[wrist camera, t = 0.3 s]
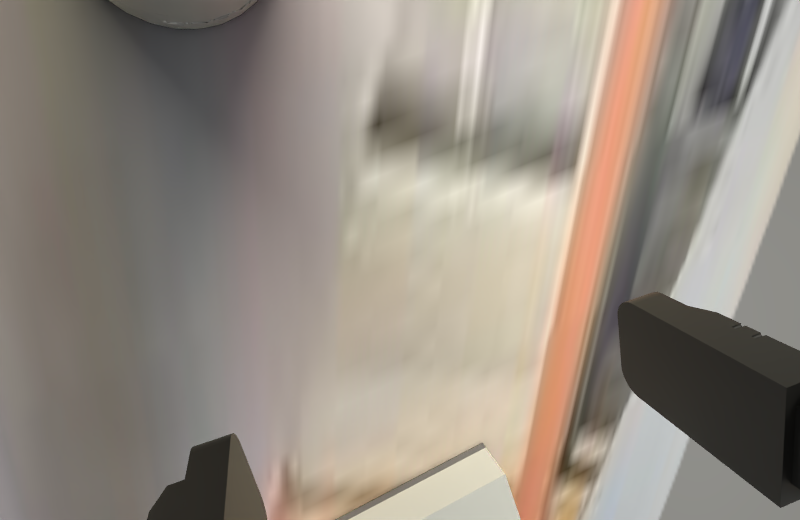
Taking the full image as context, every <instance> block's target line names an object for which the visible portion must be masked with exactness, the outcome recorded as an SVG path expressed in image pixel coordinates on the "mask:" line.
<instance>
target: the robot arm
mask: <svg viewBox="0 0 800 520" xmlns="http://www.w3.org/2000/svg"><path fill="white" fill-rule="evenodd" d="M109 1H110V2H112V3H113V4H114V5H116V6H117V7H119V8H120V9H122V10H123V11H125V12H126V13H128V14H131V15H133V16H135V17H138V18H140V19H142V20H145V21H147V22H149V23H152V24H156V25H161V26H165V27H170V28H174V29H201V28H206V27H211V26H216V25H220V24H223V23H225V22H227V21H229V20H231V19H233V18H235V17H237V16H239V15H241V14H242V13H243V12H245V11H246V10H247V9H248V8H250V7H251V6H252V5H253V4H254V3H256V2H257V1H258V0H109ZM618 326H619V339H620V352H621V365H622V371H623V374H624V377H625V380H626V382H627V383H628V385H629V387H630V388H631V390H632V391H633V392H634V393H635V394H636V395H637V396H638V397H639V398H640V399H642V400H643V401H644V402H646V403H647V404H648V405H649V406H651V407H652V408H653V409H655V410H656V411H657V412H658V413H660V414H661V415H662V416H663V417H665V418H666V419H667V420H669V421H670V422H671V423H672V424H674V425H675V426H676V427H678V428H679V429H680V430H681V431H683V432H684V433H685V434H687V435H688V436H689V437H690V438H692V439H693V440H694V441H695V442H697V443H698V444H699V445H701V446H702V447H703V448H704V449H706V450H707V451H708V452H710V453H711V454H712V455H713V456H715V457H716V458H717V459H719V460H720V461H721V462H722V463H724V464H725V465H726V466H728V467H729V468H730V469H731V470H733V471H734V472H735V473H736V474H738V475H739V476H740V477H742V478H743V479H744V480H745V481H747V482H748V483H749V484H751V485H752V486H753V487H754V488H756V489H757V490H758V491H760V492H761V493H762V494H763V495H765V496H766V497H767V498H768V499H770V500H771V501H772V502H774V503H775V504H776V505H778V506H779V507H780V508H781V507H784V506H786V505H788V504H790V503H793V502H795V501H797V500H799V499H800V351H799V350H797V349H795V348H792V347H790V346H788V345H786V344H784V343H782V342H779V341H777V340H775V339H773V338H771V337H769V336H767V335H765V336H762V335H761V333H760V332H758V331H756V330H754V329H751V328H749V327H747V326H744V327H742V326H741V323H738V322H736V321H734V320H732V319H730V318H728V317H725V316H723V315H721V314H719V313H717V312H712V311H708V310H703V309H699V308H695V307H690V306H687V305H685V304H683V303H681V302H678V301H676V300H674V299H672V298H670V297H668V296H666V295H664V294H662V293H659V292H653V293H650V294H647V295H644V296H641V297H638V298H636V299H633V300H630V301H627V302H624V303H622V304H621V305H620V306H619V309H618ZM147 520H267V515H266V511H265V507H264V503H263V500H262V497H261V494H260V492H259V489H258V487H257V484H256V482H255V479H254V477H253V474H252V472H251V469H250V466H249V464H248V461H247V459H246V456H245V454H244V451H243V449H242V446H241V444H240V441H239V439H238V438H237V436H236V435H235V434H234V433H232V434H230V435H227V436H224V437H221V438H218V439H215V440H212V441H209V442H206V443H203V444H200V445H197V446H194V447H192V449H191V451H190V456H189V461H188V466H187V471H186V476H185V480H183V481H180V482H177V483H174V484H171V485H168V486H167V487H166V488H165V490H164V491H163V493H162V494H161V496H160V497H159V499H158V500H157V501H156V503H155V504H154V506H153V507H152V509H151V510H150V512H149V515H148V518H147Z"/></svg>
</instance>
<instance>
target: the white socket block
mask: <svg viewBox="0 0 800 520" xmlns="http://www.w3.org/2000/svg"><path fill="white" fill-rule="evenodd" d="M336 520H521V519H520V516H519V513H518V510H517V507H516V505H515V502H514V499H513V496H512V493H511V490H510V487H509V484H508V481H507V478H506V475H505V473H504V472H503V471H502V469H501V468H500V466H499V465H498V464H497V462H496V461H495V459H494V458H493V457H492V455H491V454H490V453H489V451H488V450H487V448H486V447H485V446H484V444H483V443H481V444H479V445H477V446H475V447H473V448H472V449H470V450H468V451H466V452H464V453H462V454H460V455H458V456H456V457H454V458H452V459H451V460H449V461H447V462H445V463H443V464H441V465H439V466H437V467H435V468H433V469H431V470H429V471H428V472H426V473H424V474H422V475H420V476H418V477H416V478H414V479H412V480H410V481H408V482H407V483H405V484H403V485H401V486H399V487H397V488H395V489H393V490H391V491H389V492H387V493H386V494H384V495H382V496H380V497H378V498H376V499H374V500H372V501H370V502H368V503H366V504H364V505H363V506H361V507H359V508H357V509H355V510H353V511H351V512H349V513H347V514H345V515H343V516H342V517H340V518H338V519H336Z"/></svg>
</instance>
